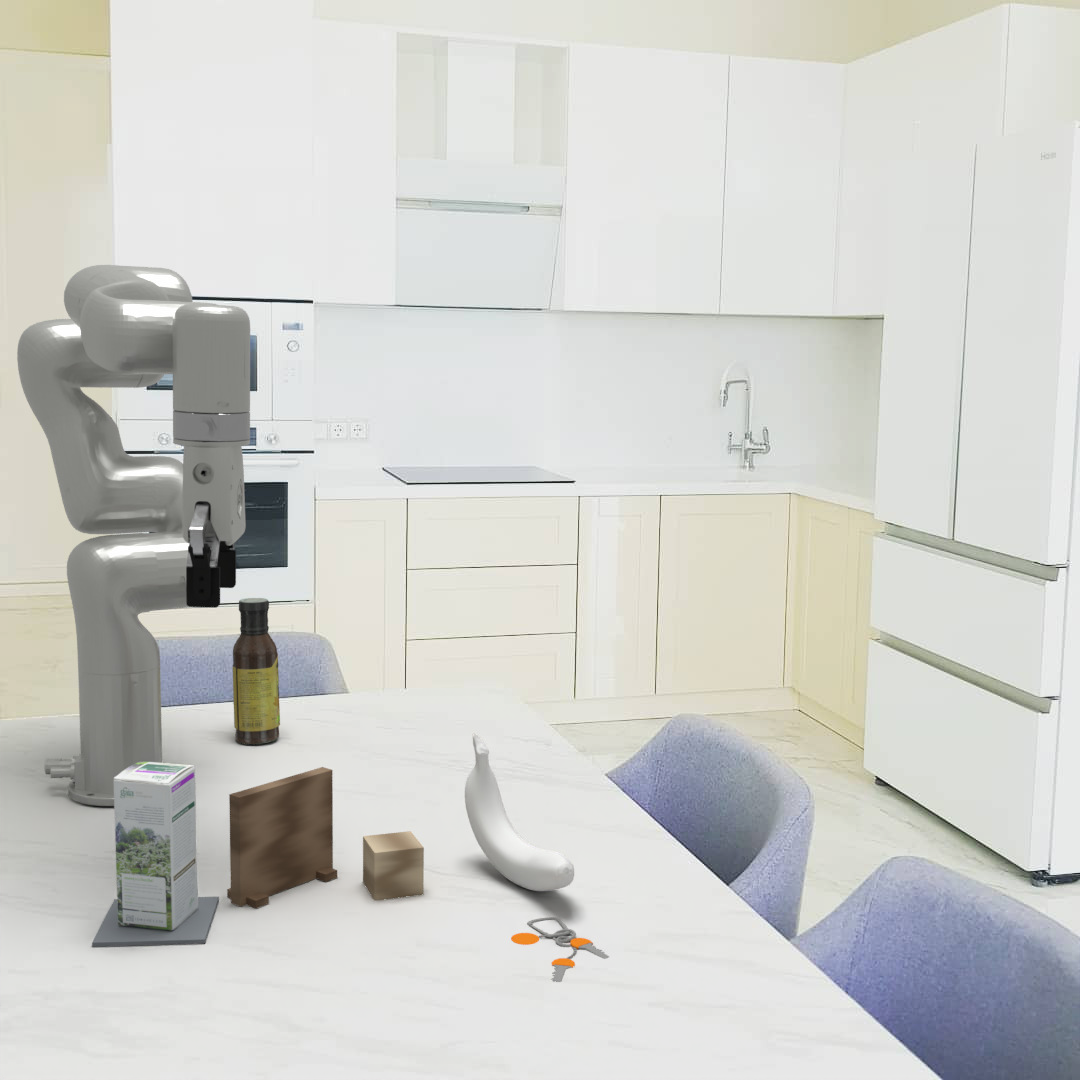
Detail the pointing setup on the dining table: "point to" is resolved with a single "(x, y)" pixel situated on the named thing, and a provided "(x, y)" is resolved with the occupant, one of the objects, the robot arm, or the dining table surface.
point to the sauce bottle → (255, 676)
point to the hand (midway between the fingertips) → (212, 596)
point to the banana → (508, 833)
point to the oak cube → (393, 865)
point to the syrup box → (155, 844)
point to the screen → (281, 836)
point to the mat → (185, 933)
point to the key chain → (575, 943)
